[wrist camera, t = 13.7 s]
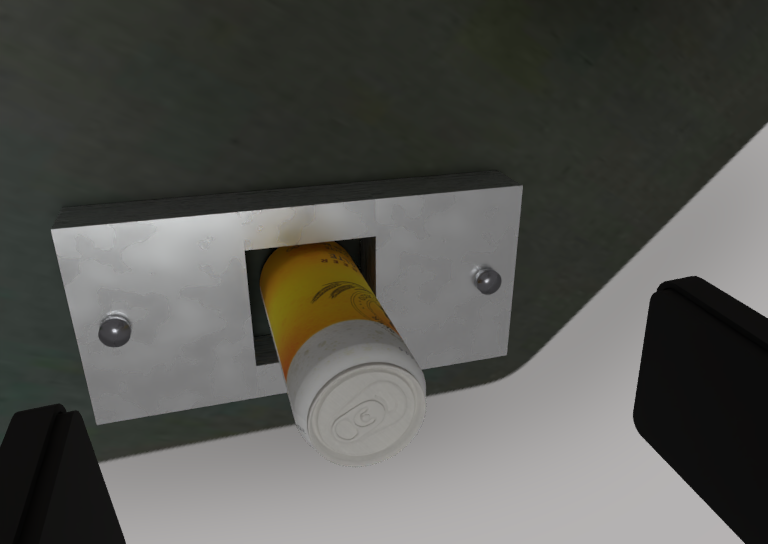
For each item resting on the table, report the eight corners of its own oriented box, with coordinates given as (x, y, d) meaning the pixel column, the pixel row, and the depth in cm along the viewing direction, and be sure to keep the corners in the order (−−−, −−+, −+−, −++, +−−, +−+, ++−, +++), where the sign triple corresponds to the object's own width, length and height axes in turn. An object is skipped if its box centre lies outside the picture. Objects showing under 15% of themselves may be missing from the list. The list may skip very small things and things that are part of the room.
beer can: (369, 283, 42) (457, 421, 29) (292, 335, 42) (346, 496, 28) (320, 212, 39) (394, 330, 26) (238, 268, 39) (269, 414, 26)
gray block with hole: (497, 170, 41) (527, 188, 37) (484, 330, 46) (510, 359, 42) (62, 207, 34) (48, 233, 31) (103, 390, 39) (95, 431, 36)
